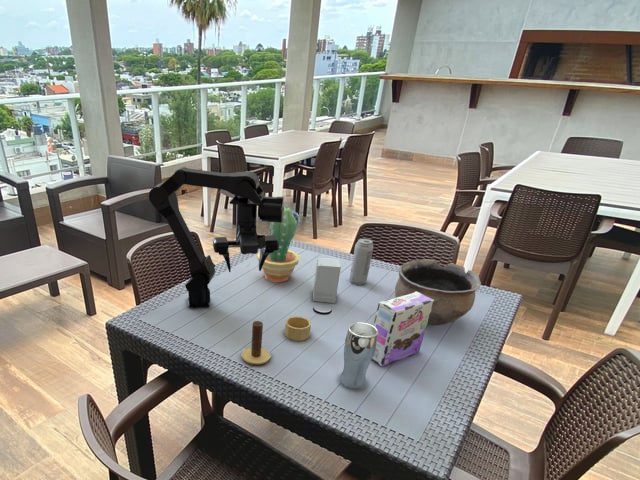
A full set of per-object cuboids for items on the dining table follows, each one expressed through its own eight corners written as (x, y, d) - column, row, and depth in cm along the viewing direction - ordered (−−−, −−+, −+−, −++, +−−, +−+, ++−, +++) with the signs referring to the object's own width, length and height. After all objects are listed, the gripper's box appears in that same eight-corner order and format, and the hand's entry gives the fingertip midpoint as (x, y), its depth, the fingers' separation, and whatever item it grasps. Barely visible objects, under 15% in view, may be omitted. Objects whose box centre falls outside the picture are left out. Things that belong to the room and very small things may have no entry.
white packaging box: (335, 303, 142) (341, 267, 135) (312, 301, 143) (317, 265, 136) (334, 293, 148) (340, 258, 141) (312, 291, 149) (317, 256, 142)
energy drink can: (352, 276, 159) (360, 236, 151) (368, 280, 157) (377, 240, 148) (346, 282, 155) (353, 241, 147) (362, 286, 152) (370, 245, 144)
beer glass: (334, 373, 110) (343, 322, 102) (361, 372, 110) (372, 321, 102) (343, 391, 104) (353, 338, 96) (371, 389, 104) (384, 336, 96)
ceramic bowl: (475, 317, 134) (492, 272, 126) (450, 346, 120) (467, 297, 112) (405, 295, 147) (416, 253, 139) (376, 318, 133) (386, 273, 125)
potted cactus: (300, 286, 153) (309, 215, 139) (257, 285, 153) (260, 214, 139) (295, 268, 166) (302, 202, 152) (254, 268, 166) (258, 201, 152)
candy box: (381, 367, 112) (395, 311, 103) (365, 356, 116) (377, 301, 107) (419, 353, 117) (436, 299, 108) (402, 343, 122) (417, 290, 113)
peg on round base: (240, 365, 113) (241, 330, 107) (242, 349, 119) (244, 315, 113) (269, 367, 112) (272, 332, 106) (270, 351, 118) (273, 317, 113)
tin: (292, 342, 122) (293, 330, 120) (280, 330, 127) (281, 318, 125) (313, 338, 124) (315, 326, 122) (301, 326, 129) (302, 314, 127)
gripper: (216, 230, 115) (216, 283, 124) (285, 227, 117) (280, 280, 126) (212, 217, 125) (213, 268, 133) (276, 215, 126) (272, 265, 135)
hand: (244, 271), depth 131 cm, fingers open, 9 cm apart
